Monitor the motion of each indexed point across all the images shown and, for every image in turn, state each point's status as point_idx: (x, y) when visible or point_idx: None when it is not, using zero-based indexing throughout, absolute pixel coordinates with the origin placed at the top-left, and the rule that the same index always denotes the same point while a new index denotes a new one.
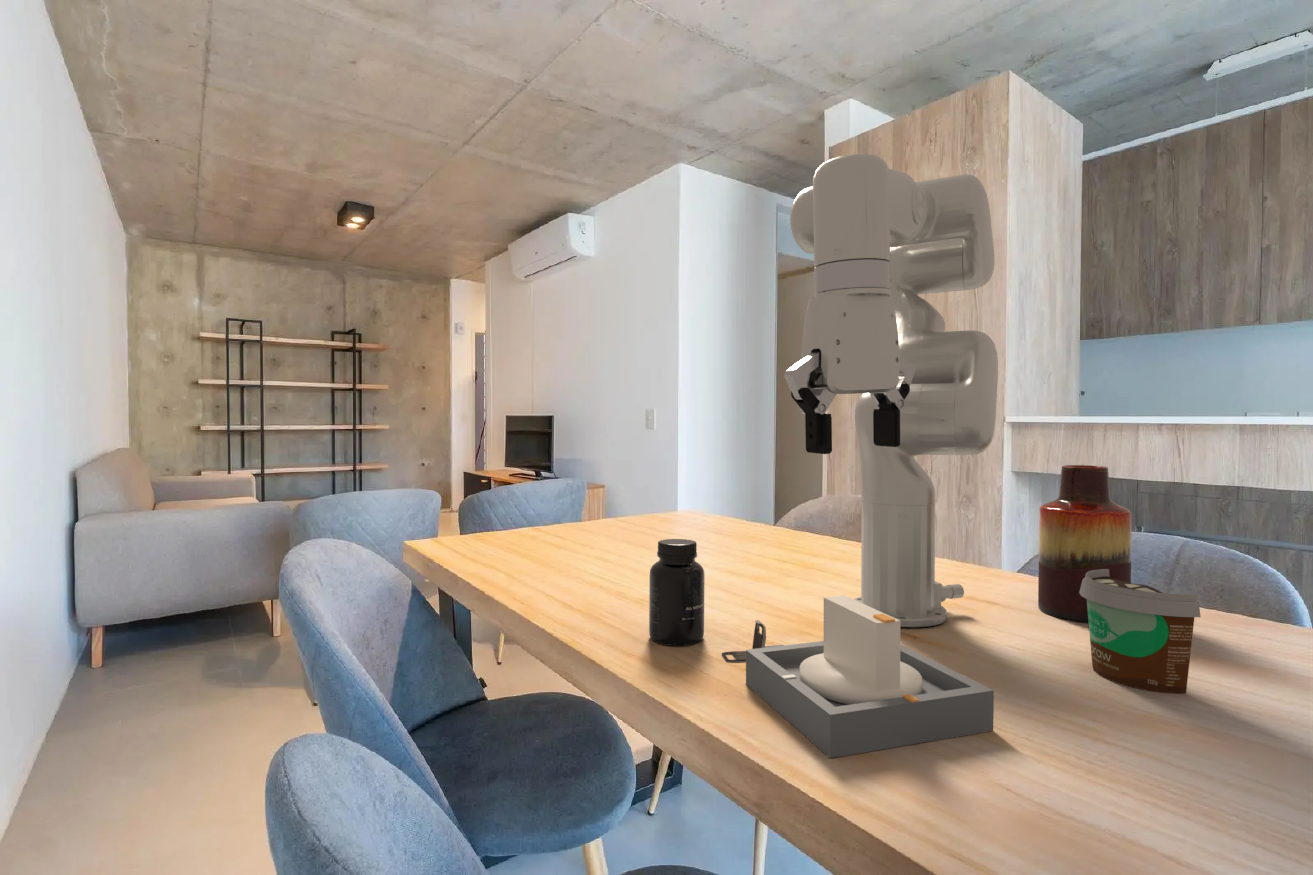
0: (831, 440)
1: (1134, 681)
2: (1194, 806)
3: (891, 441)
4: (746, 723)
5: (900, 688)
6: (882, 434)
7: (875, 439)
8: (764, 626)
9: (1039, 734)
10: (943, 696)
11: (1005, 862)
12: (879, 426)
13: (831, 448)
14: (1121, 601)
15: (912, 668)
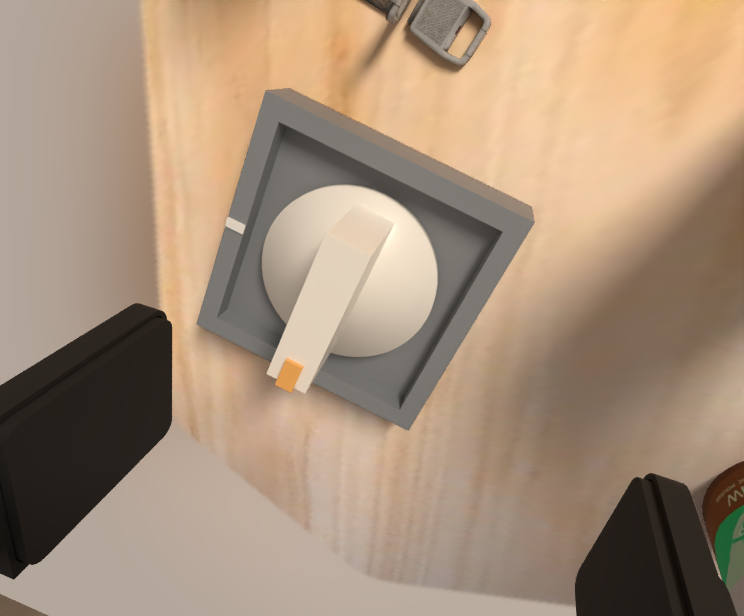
0: (132, 464)
1: (706, 507)
2: (397, 538)
3: (586, 585)
4: (202, 185)
5: (336, 343)
6: (617, 576)
7: (637, 506)
8: (390, 15)
9: (446, 436)
10: (343, 394)
11: (214, 453)
12: (637, 610)
13: (158, 438)
14: (739, 601)
15: (418, 326)
